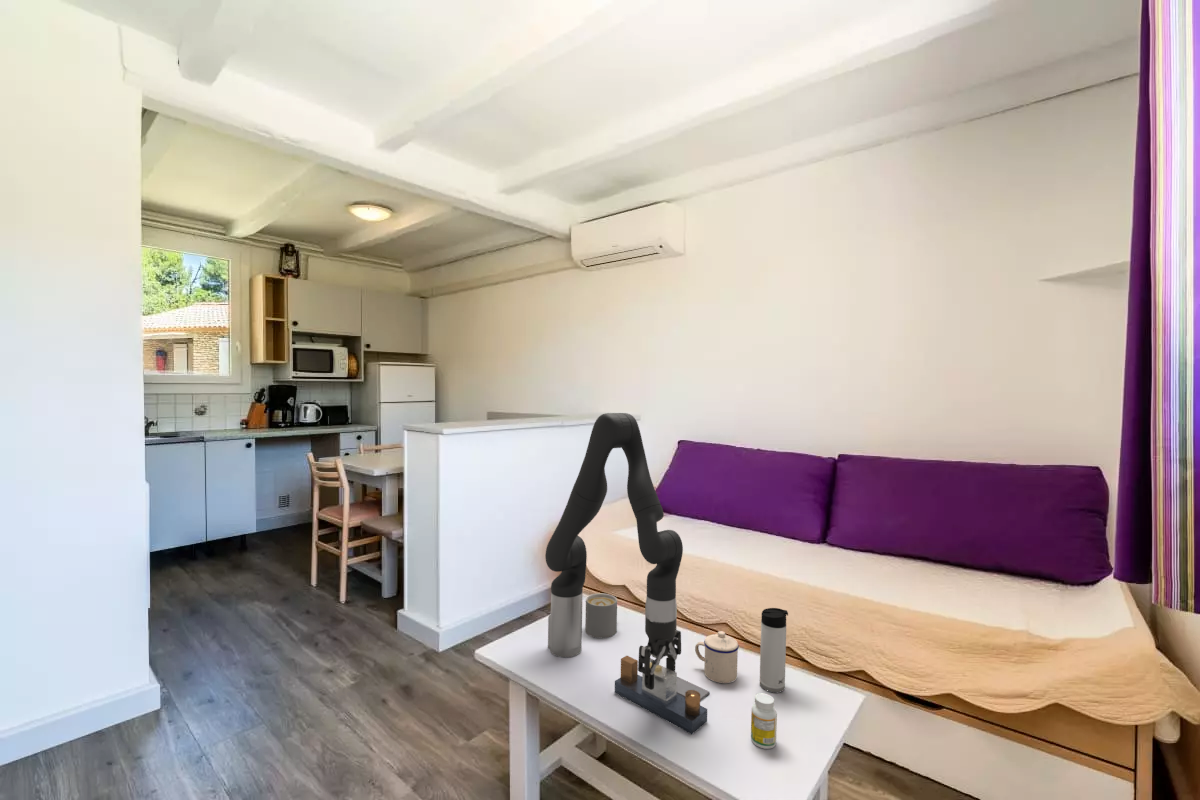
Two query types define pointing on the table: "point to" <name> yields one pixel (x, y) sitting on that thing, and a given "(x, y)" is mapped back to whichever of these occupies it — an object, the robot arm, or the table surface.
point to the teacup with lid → (719, 657)
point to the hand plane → (673, 710)
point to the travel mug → (773, 649)
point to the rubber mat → (689, 688)
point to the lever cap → (662, 682)
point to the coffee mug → (601, 615)
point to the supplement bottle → (763, 721)
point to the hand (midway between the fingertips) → (660, 680)
